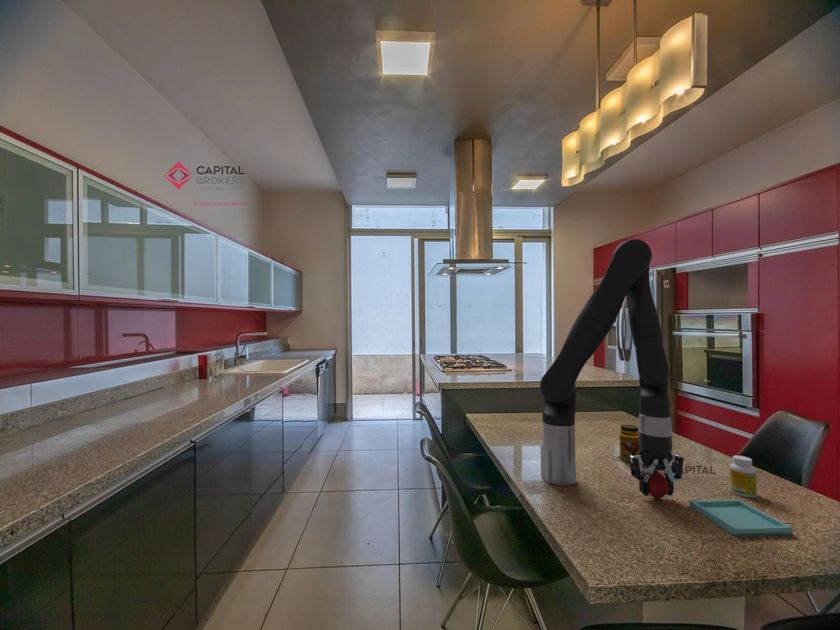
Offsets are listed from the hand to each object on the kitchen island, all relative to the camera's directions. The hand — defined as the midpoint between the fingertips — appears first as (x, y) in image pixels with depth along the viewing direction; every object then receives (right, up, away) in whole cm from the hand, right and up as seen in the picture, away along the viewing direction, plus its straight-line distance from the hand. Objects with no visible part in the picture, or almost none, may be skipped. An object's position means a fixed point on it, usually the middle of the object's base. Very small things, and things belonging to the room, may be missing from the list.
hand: (656, 494), depth 97 cm
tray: (+12, -1, -11) cm, 16 cm away
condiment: (+8, -2, +27) cm, 28 cm away
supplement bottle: (+26, -1, +3) cm, 26 cm away
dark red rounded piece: (0, -1, 0) cm, 1 cm away
